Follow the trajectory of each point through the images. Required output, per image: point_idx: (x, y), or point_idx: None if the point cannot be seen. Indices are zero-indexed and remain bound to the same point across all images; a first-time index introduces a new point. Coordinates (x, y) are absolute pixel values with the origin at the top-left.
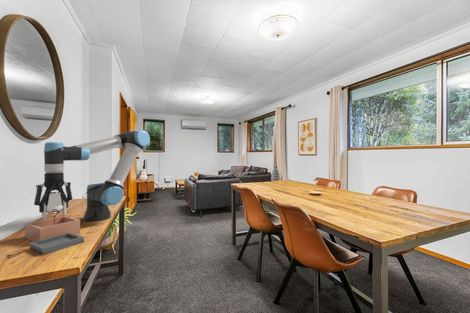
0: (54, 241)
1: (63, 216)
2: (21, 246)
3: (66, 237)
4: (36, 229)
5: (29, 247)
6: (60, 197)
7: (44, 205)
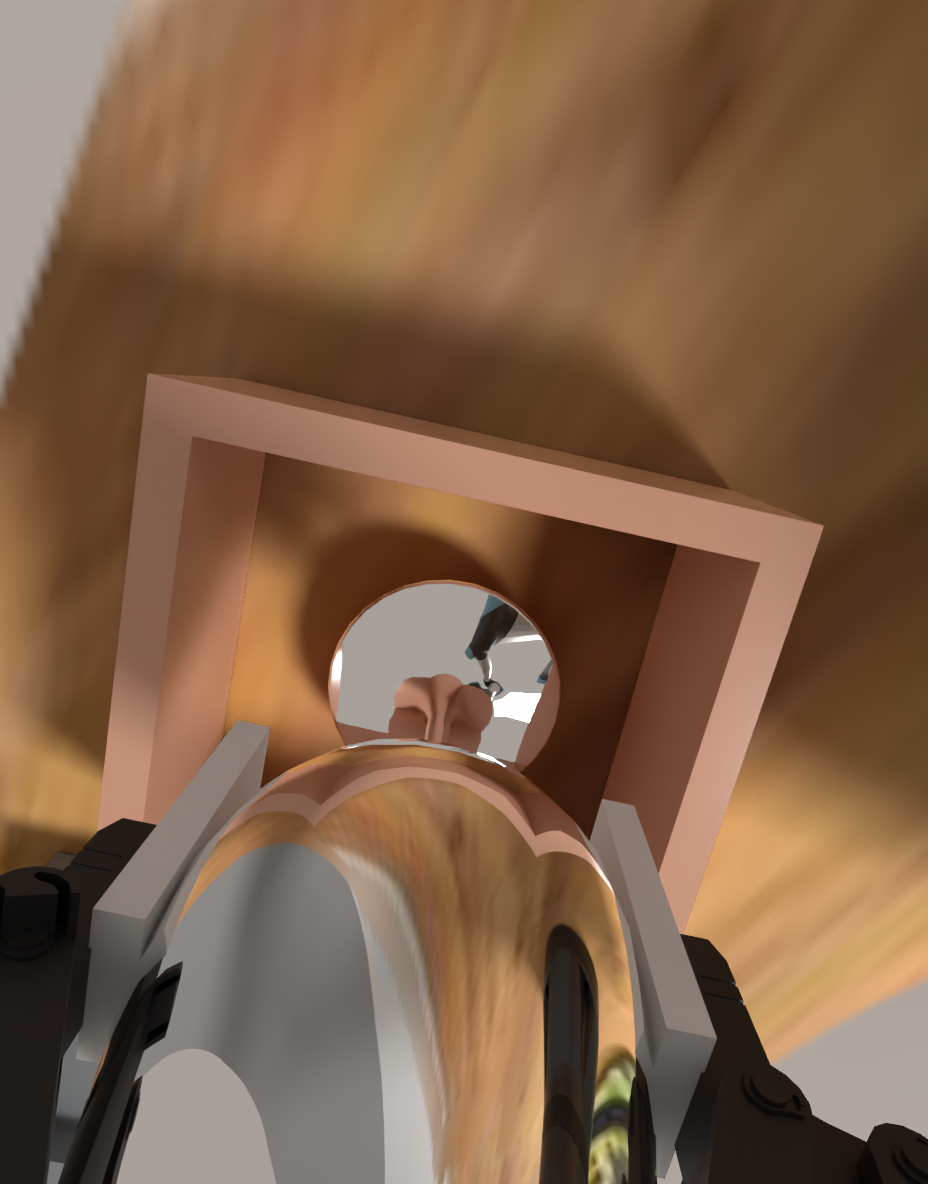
0: None
1: (773, 553)
2: (57, 690)
3: None
4: None
5: (48, 863)
6: None
7: (125, 992)
